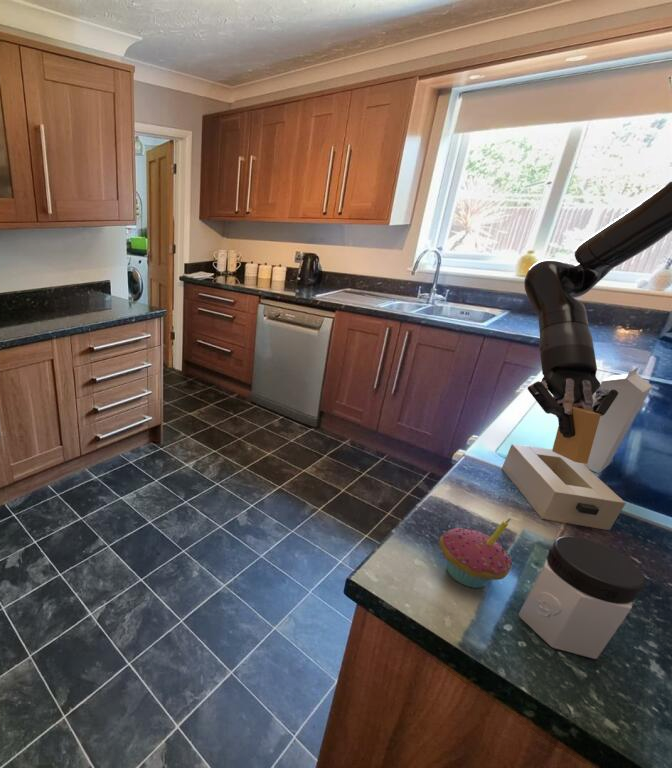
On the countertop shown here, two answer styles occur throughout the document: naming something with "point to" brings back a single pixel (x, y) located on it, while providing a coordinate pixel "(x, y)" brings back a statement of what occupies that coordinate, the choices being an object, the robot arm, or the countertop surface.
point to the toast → (578, 436)
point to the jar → (581, 595)
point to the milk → (617, 417)
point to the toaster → (562, 488)
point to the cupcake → (475, 556)
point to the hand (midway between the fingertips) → (577, 437)
